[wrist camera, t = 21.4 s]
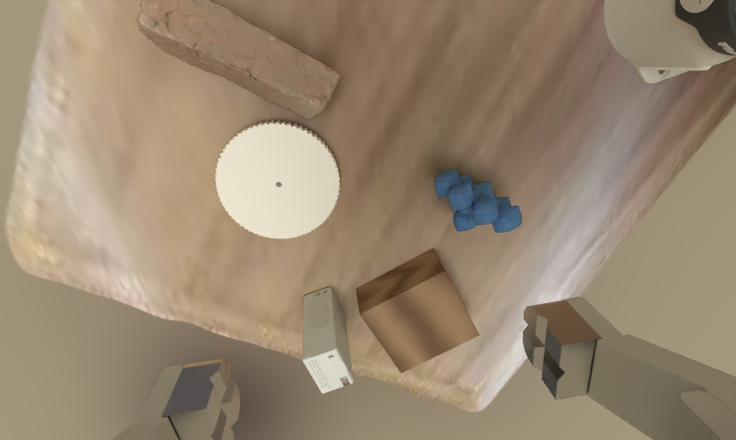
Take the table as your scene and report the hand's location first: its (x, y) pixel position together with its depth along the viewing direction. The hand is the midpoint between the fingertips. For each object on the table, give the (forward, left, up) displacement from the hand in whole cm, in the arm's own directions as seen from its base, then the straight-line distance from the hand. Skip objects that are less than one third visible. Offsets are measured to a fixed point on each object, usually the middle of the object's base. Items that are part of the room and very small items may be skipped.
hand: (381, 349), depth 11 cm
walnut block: (-7, +27, -37) cm, 47 cm away
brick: (+7, -7, -37) cm, 39 cm away
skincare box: (+5, +26, -37) cm, 46 cm away
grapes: (-14, +11, -37) cm, 41 cm away
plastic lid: (+8, +6, -38) cm, 39 cm away
